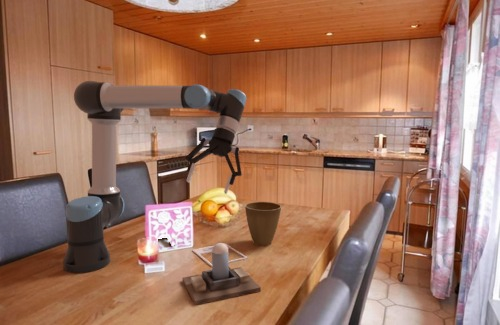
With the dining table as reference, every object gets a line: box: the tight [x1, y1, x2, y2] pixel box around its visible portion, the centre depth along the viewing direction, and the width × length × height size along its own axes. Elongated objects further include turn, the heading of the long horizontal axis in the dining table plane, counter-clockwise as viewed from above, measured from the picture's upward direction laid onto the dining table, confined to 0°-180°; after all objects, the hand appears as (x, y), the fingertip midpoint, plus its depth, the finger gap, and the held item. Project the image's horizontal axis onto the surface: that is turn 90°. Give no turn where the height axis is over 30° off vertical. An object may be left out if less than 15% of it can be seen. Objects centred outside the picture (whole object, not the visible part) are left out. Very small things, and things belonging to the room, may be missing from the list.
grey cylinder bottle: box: [211, 242, 230, 281], centre depth 110 cm, size 5×5×12 cm
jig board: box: [181, 266, 262, 306], centre depth 110 cm, size 20×16×4 cm
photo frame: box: [192, 242, 249, 268], centre depth 136 cm, size 15×1×18 cm
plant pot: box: [244, 201, 282, 247], centre depth 148 cm, size 15×15×16 cm
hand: (206, 187), depth 122 cm, fingers open, 13 cm apart
